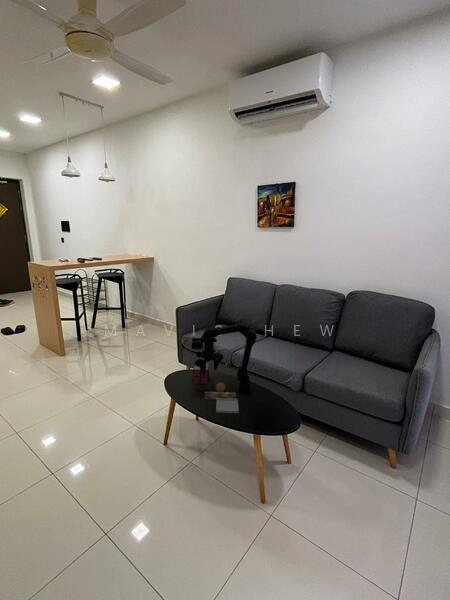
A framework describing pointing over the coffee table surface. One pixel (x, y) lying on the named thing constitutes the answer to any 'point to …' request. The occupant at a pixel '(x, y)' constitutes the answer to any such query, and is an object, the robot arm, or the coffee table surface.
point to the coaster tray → (227, 405)
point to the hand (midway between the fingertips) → (209, 372)
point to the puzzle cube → (200, 375)
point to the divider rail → (220, 395)
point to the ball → (220, 387)
